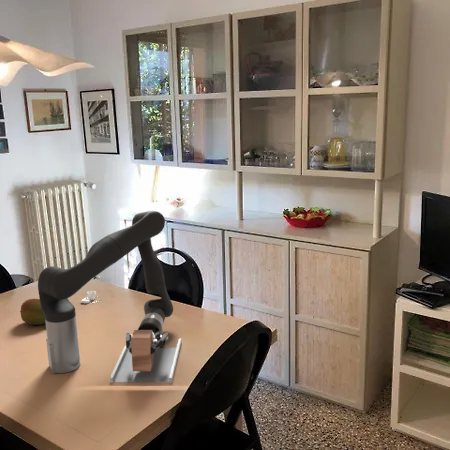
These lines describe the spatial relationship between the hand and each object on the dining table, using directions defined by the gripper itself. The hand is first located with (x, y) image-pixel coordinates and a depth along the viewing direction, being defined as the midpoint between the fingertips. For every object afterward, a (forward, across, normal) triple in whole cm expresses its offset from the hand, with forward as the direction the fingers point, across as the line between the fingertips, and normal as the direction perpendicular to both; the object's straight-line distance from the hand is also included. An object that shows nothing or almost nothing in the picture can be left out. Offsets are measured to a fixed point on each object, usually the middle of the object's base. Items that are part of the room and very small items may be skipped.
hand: (141, 351), depth 152 cm
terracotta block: (-1, 0, +6) cm, 6 cm away
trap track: (-9, 0, +9) cm, 13 cm away
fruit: (-41, -48, +10) cm, 64 cm away
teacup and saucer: (-65, -38, +10) cm, 75 cm away
